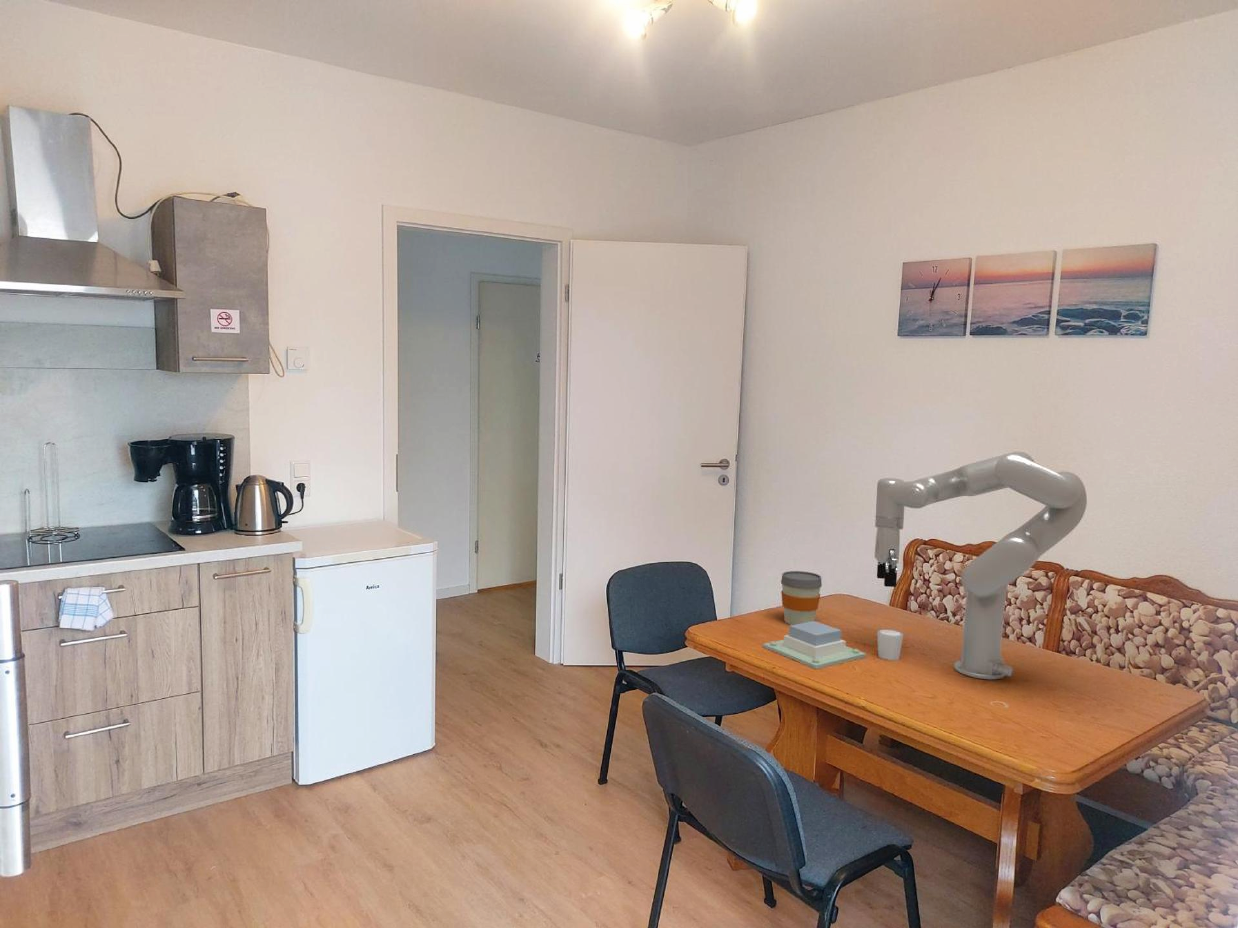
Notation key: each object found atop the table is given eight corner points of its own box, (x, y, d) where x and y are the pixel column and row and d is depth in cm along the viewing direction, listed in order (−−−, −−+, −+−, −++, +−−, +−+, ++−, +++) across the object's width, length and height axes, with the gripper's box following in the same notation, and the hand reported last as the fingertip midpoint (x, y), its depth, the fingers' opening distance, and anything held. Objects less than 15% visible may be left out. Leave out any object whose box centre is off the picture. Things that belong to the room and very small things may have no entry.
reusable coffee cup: (775, 624, 260) (777, 577, 258) (783, 614, 271) (785, 569, 269) (815, 630, 255) (818, 582, 253) (822, 619, 266) (825, 573, 265)
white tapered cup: (881, 650, 237) (883, 627, 236) (905, 656, 233) (907, 632, 232) (872, 656, 232) (873, 632, 231) (896, 662, 227) (897, 637, 227)
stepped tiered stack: (865, 656, 231) (867, 632, 230) (815, 669, 220) (817, 643, 219) (812, 636, 248) (813, 614, 247) (763, 647, 237) (764, 623, 236)
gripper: (869, 517, 242) (866, 574, 244) (882, 527, 225) (879, 589, 227) (896, 518, 241) (893, 575, 243) (910, 528, 224) (907, 590, 226)
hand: (886, 582), depth 235 cm, fingers open, 9 cm apart
